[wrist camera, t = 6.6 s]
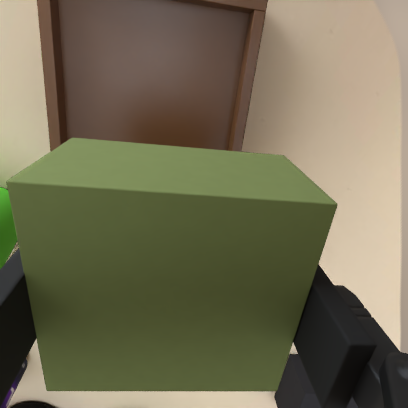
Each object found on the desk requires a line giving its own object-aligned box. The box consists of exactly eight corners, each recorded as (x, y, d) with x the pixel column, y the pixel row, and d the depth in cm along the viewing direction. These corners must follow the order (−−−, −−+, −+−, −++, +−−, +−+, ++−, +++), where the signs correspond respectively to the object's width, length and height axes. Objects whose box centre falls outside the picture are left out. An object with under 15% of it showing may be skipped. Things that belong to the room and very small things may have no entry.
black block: (354, 355, 39) (378, 393, 34) (334, 396, 42) (354, 436, 37) (289, 354, 37) (305, 393, 33) (274, 397, 41) (286, 438, 36)
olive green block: (284, 155, 13) (338, 203, 8) (251, 302, 17) (277, 391, 12) (71, 137, 12) (5, 180, 8) (85, 297, 16) (46, 391, 11)
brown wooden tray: (45, -34, 19) (32, -44, 18) (260, 3, 21) (268, -3, 19) (68, 255, 28) (60, 267, 27) (216, 262, 30) (219, 274, 29)
